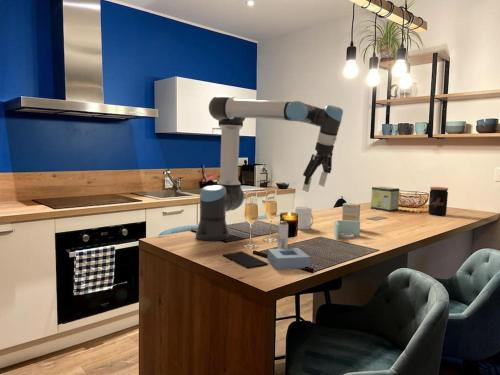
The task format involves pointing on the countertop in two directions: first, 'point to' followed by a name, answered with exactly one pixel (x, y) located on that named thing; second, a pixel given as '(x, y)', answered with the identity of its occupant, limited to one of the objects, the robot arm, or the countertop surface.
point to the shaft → (282, 235)
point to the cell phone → (245, 260)
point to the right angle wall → (346, 229)
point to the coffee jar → (438, 201)
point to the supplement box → (351, 212)
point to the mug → (304, 217)
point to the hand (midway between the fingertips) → (313, 188)
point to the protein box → (385, 199)
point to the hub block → (288, 258)
